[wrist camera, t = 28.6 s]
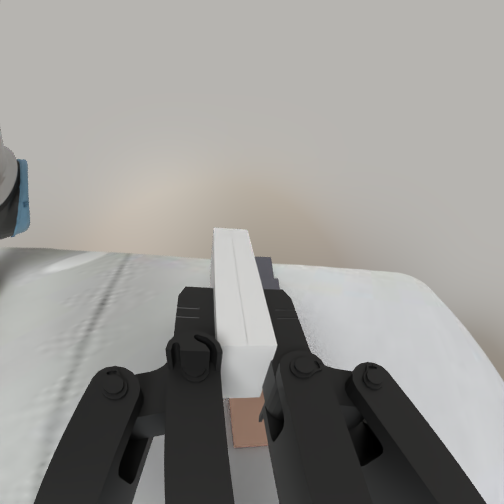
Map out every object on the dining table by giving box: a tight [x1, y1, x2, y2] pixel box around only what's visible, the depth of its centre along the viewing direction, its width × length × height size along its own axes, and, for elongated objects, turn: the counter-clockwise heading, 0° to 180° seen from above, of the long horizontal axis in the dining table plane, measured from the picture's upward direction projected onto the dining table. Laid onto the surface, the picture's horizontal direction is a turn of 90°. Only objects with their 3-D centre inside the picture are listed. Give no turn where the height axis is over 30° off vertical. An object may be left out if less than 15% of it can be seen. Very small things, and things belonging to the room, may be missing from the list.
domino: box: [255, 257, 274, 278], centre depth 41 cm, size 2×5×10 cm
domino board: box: [229, 390, 268, 448], centre depth 34 cm, size 26×10×1 cm, turn 7°
